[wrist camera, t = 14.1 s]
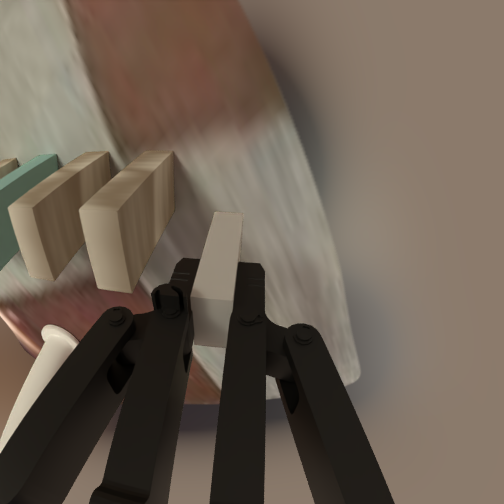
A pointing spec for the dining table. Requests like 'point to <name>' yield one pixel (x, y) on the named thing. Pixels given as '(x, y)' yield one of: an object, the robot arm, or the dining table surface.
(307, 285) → the dining table surface
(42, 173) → the tile
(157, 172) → the tile
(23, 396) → the white post
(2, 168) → the tile
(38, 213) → the tile
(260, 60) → the dining table surface
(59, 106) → the dining table surface
